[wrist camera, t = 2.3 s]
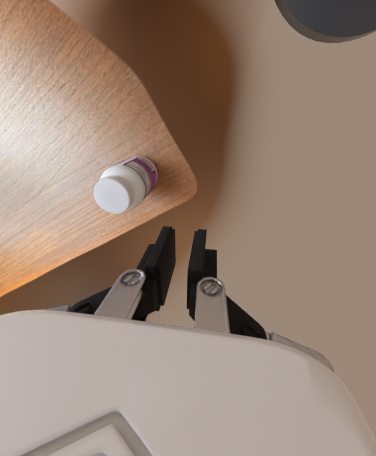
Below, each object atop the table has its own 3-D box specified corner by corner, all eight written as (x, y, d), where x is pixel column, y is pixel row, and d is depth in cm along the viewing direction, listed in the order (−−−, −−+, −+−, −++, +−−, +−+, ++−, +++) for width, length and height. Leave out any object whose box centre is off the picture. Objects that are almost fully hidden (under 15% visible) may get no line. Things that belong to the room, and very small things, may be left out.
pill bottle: (130, 192, 30) (98, 221, 22) (119, 158, 28) (77, 175, 19) (162, 188, 29) (141, 217, 21) (154, 152, 27) (126, 168, 18)
